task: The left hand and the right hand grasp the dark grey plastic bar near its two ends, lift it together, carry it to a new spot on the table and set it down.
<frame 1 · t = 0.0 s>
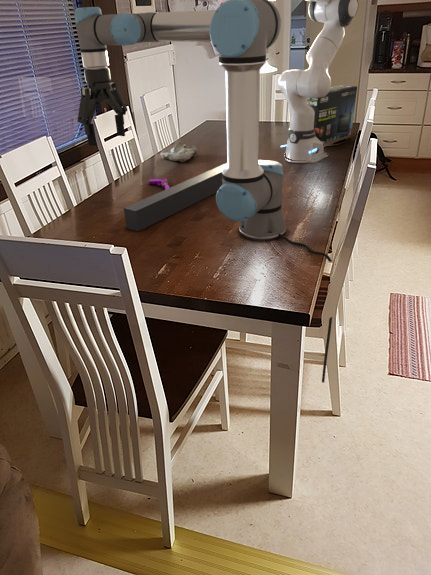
left hand: (107, 140, 148), 28 cm above the table, tool pointing down, fingers open, 13 cm apart
right hand: (256, 52, 178), 48 cm above the table, tool pointing down, fingers open, 8 cm apart
router box: (325, 143, 245), on the table
bar: (189, 201, 176), on the table
fossil: (178, 158, 230), on the table
handgun: (161, 189, 190), on the table
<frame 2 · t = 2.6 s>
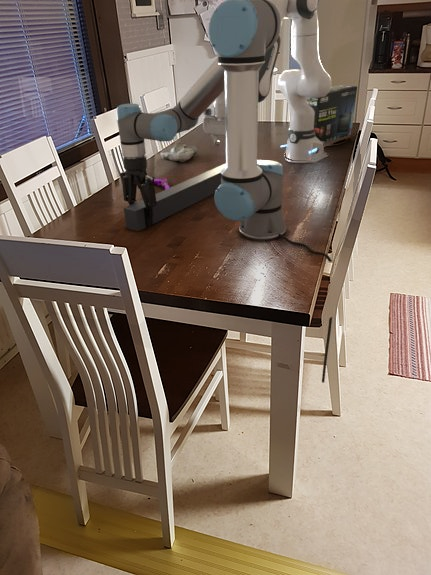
left hand: (142, 223, 159), 1 cm above the table, tool pointing down, fingers closed on bar, 6 cm apart
right hand: (226, 146, 186), 15 cm above the table, tool pointing down, fingers open, 8 cm apart
bar: (189, 201, 176), on the table, touching left hand
everything else where it was.
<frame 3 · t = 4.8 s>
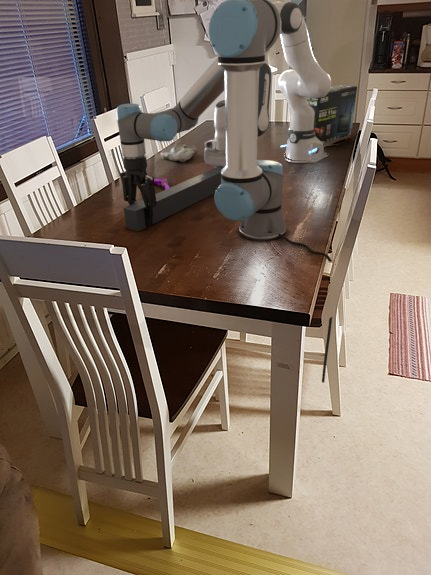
left hand: (142, 223, 159), 1 cm above the table, tool pointing down, fingers closed on bar, 6 cm apart
right hand: (226, 177, 192), 3 cm above the table, tool pointing down, fingers closed on bar, 5 cm apart
bar: (189, 201, 176), on the table, touching left hand, right hand
everything else where it was.
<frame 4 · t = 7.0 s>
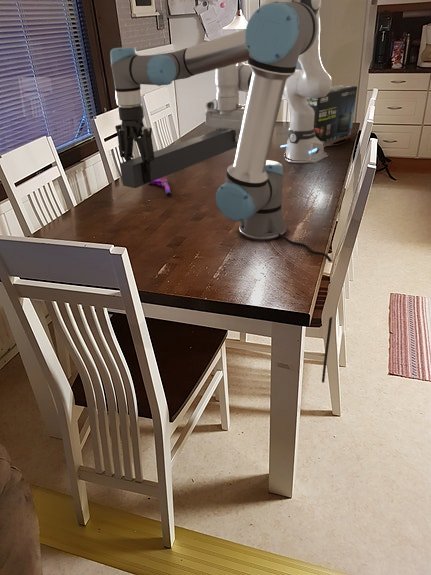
left hand: (140, 180, 149), 16 cm above the table, tool pointing down, fingers closed on bar, 6 cm apart
right hand: (228, 140, 183), 18 cm above the table, tool pointing down, fingers closed on bar, 5 cm apart
bar: (189, 163, 167), point 15 cm above the table, touching left hand, right hand
everything else where it was.
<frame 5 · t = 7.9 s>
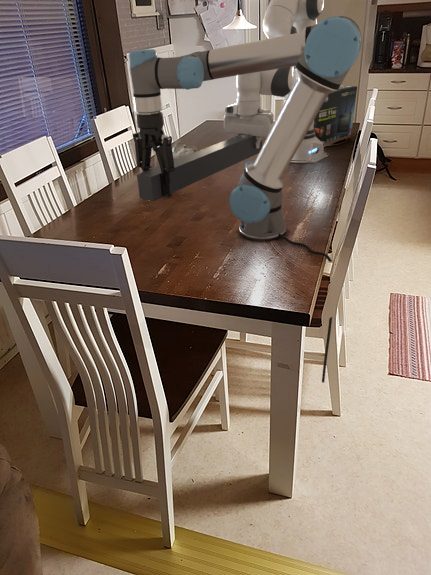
left hand: (158, 192, 139), 16 cm above the table, tool pointing down, fingers closed on bar, 6 cm apart
right hand: (248, 146, 172), 18 cm above the table, tool pointing down, fingers closed on bar, 5 cm apart
bar: (208, 172, 157), point 15 cm above the table, touching left hand, right hand
everything else where it was.
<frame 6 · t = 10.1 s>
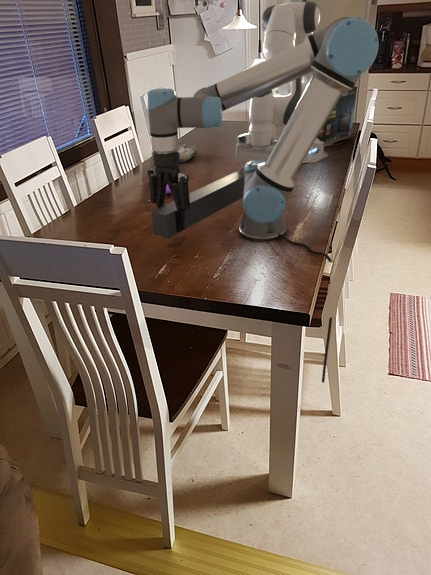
left hand: (172, 228, 137), 7 cm above the table, tool pointing down, fingers closed on bar, 6 cm apart
right hand: (260, 176, 171), 9 cm above the table, tool pointing down, fingers closed on bar, 5 cm apart
bar: (221, 204, 155), point 6 cm above the table, touching left hand, right hand
everything else where it was.
when the left hand's fingers open (2 cm above the table, at t = 11.3 s): bar stays where it is, on the table.
when the right hand's fingers open (4 cm above the table, at t = 11.5 s): bar stays where it is, on the table.
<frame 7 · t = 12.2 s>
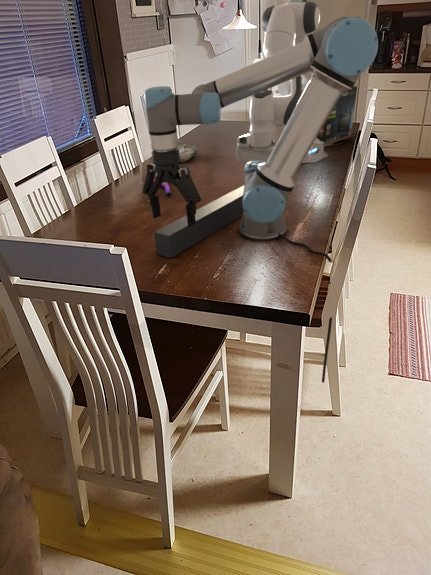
left hand: (174, 220, 136), 9 cm above the table, tool pointing down, fingers open, 13 cm apart
right hand: (261, 176, 171), 9 cm above the table, tool pointing down, fingers open, 8 cm apart
bar: (222, 221, 158), on the table
everything else where it was.
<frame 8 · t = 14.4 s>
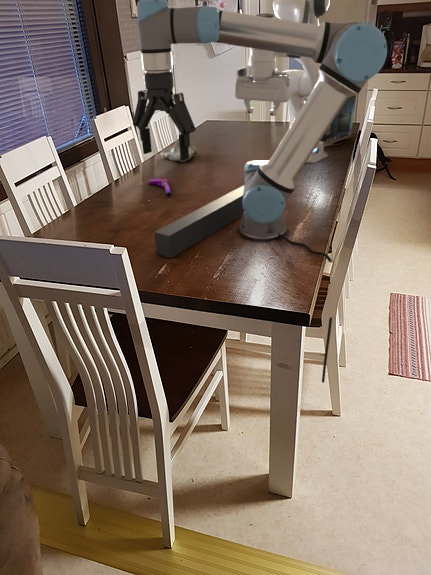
left hand: (165, 156, 126), 29 cm above the table, tool pointing down, fingers open, 13 cm apart
right hand: (261, 114, 159), 31 cm above the table, tool pointing down, fingers open, 8 cm apart
nothing on the table moved.
at the end: bar inside the target area (0.3 cm from its centre), on the table; bar tilted 0°; bar never tilted more than 2° during the clip; both hands held the bar at the same time; the left hand is holding nothing; the right hand is holding nothing; bar at rest at the end (0.0 cm/s) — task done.
